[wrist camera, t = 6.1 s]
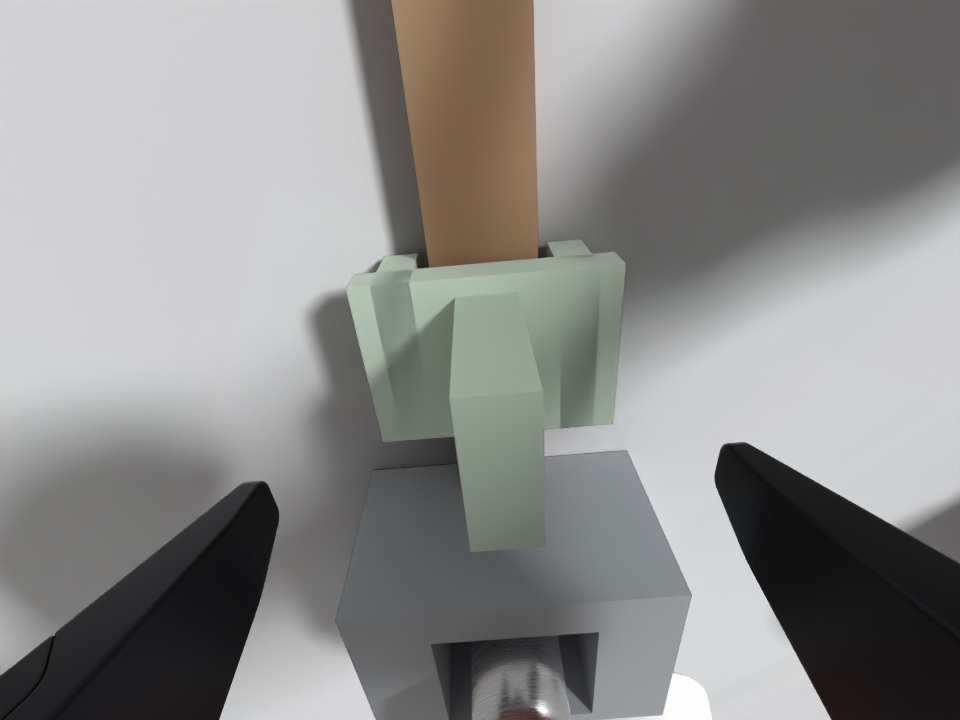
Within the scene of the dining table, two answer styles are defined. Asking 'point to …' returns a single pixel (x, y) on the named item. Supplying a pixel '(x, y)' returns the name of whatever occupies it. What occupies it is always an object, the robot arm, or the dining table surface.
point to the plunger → (518, 680)
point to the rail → (472, 126)
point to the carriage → (493, 368)
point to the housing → (513, 592)
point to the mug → (682, 702)
